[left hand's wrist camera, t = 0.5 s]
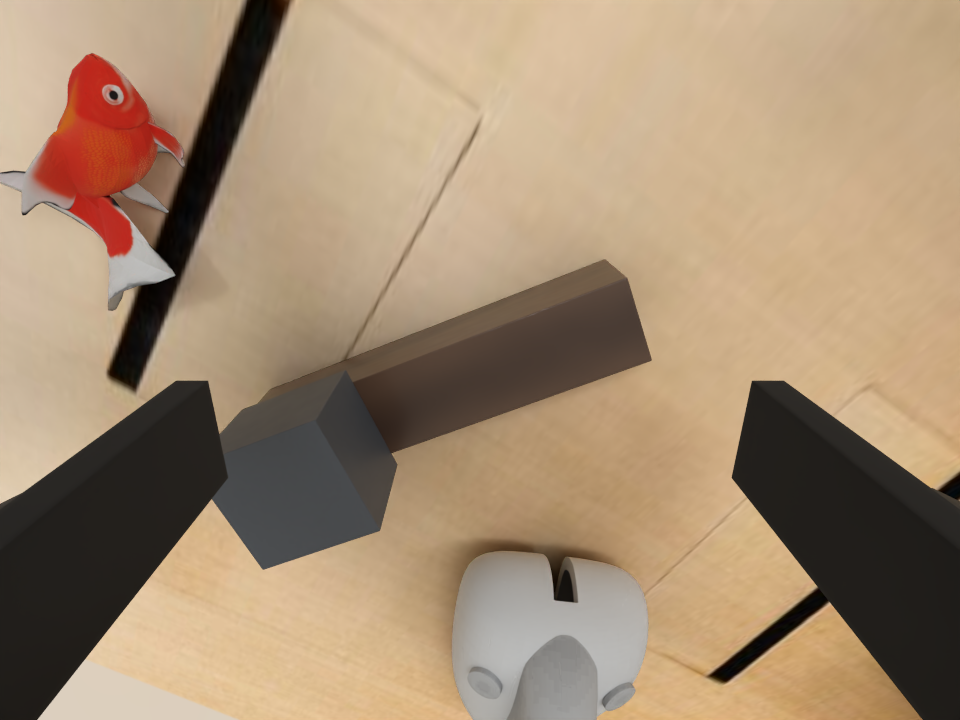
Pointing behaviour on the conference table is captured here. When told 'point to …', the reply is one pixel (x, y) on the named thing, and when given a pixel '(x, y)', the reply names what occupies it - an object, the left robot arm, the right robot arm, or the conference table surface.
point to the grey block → (305, 472)
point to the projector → (546, 638)
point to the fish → (102, 169)
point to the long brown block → (497, 357)
